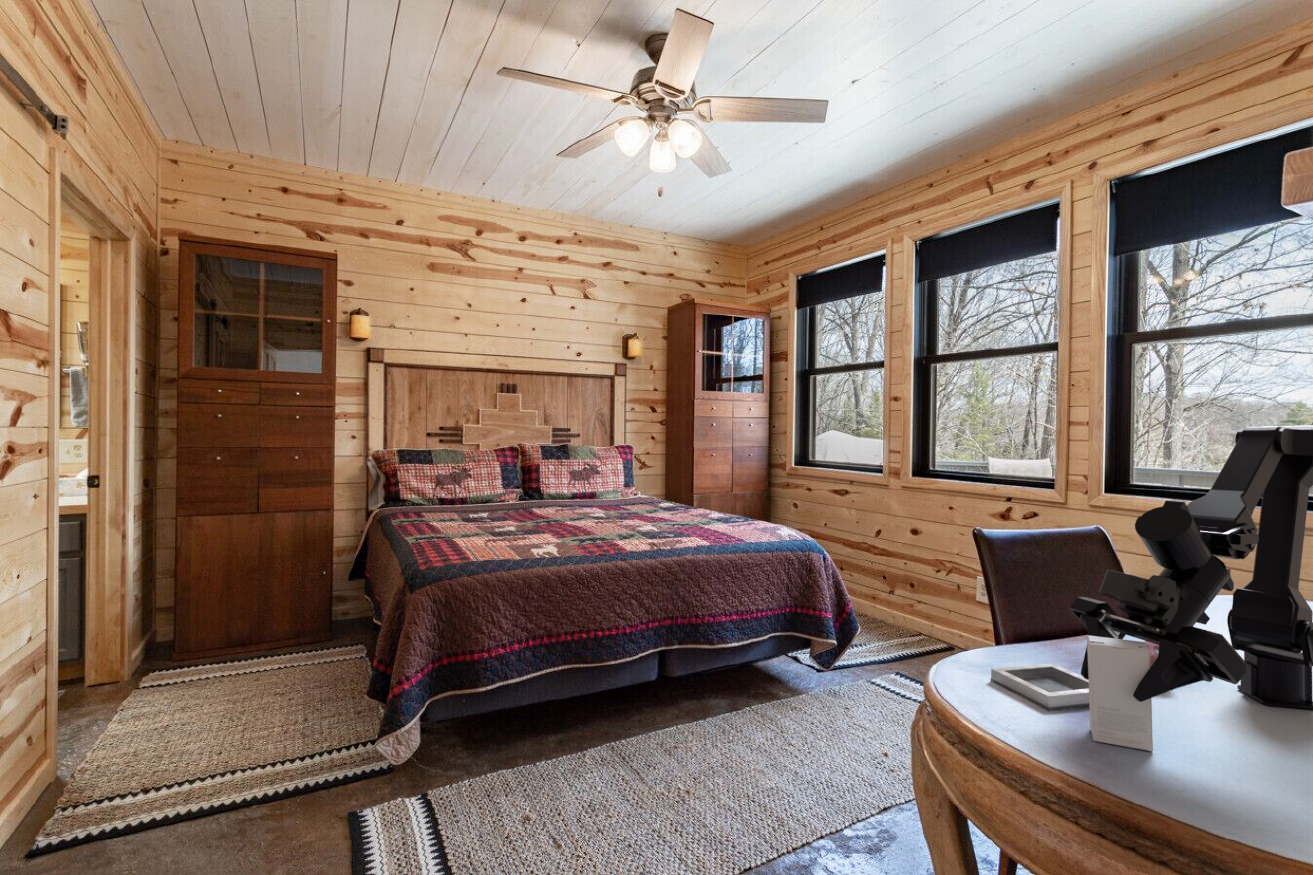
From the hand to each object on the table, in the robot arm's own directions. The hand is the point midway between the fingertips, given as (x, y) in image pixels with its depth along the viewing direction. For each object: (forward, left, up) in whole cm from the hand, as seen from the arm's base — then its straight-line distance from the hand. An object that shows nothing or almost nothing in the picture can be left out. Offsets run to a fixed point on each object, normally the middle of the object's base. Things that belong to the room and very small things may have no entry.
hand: (1108, 687), depth 78 cm
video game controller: (-14, -26, -7) cm, 30 cm away
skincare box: (-1, -1, -7) cm, 7 cm away
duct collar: (+2, -16, -7) cm, 17 cm away
